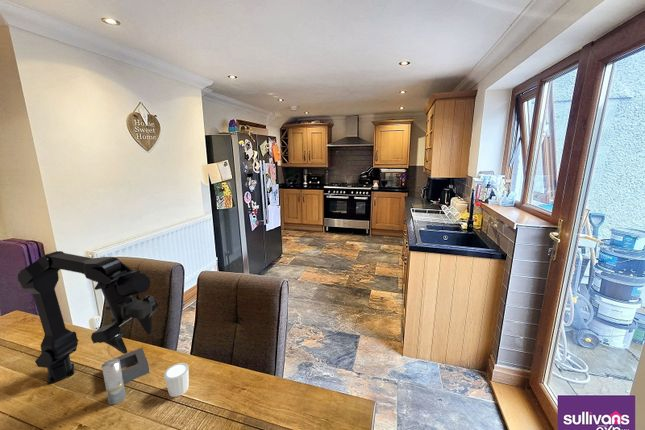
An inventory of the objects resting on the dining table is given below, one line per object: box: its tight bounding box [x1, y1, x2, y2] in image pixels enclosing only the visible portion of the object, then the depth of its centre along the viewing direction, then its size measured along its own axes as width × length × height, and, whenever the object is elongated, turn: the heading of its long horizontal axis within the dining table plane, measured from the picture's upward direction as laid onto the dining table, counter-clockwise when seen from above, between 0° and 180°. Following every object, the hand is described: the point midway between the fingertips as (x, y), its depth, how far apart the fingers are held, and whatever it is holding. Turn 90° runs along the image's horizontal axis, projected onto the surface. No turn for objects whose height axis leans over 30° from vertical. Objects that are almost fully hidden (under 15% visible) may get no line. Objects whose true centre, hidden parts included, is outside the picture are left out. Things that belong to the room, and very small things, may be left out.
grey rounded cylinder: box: [101, 357, 126, 406], centre depth 82 cm, size 4×4×12 cm
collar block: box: [105, 347, 150, 385], centre depth 93 cm, size 11×11×4 cm
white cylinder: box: [163, 362, 190, 398], centre depth 86 cm, size 7×7×7 cm
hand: (138, 343), depth 84 cm, fingers open, 9 cm apart
